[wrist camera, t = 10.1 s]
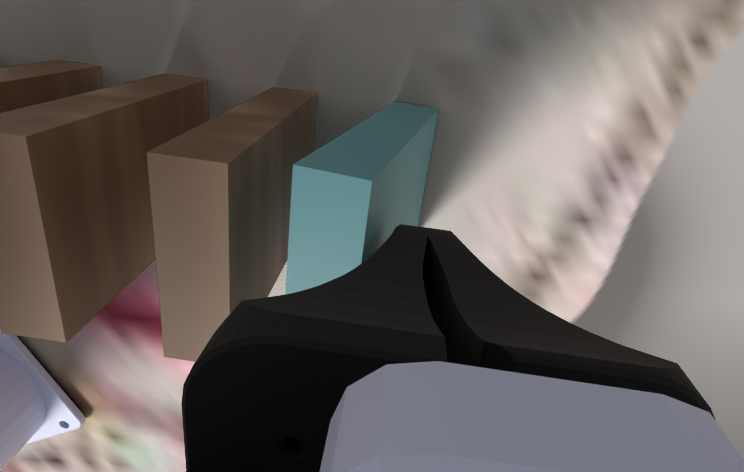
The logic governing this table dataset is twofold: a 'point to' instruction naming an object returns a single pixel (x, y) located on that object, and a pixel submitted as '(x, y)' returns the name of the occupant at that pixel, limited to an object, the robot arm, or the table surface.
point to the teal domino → (357, 193)
